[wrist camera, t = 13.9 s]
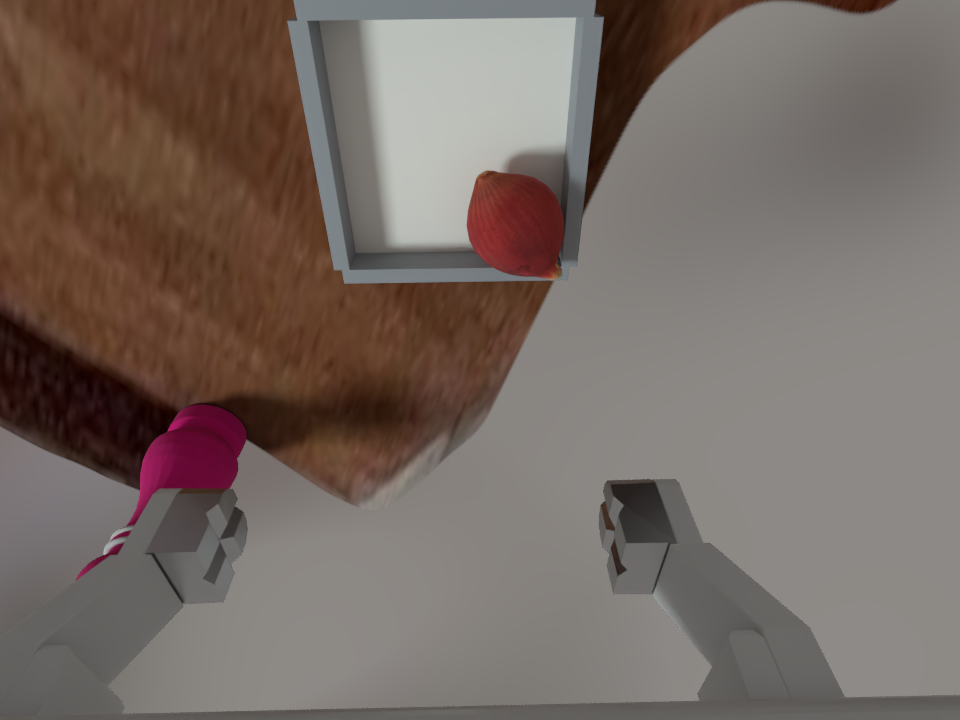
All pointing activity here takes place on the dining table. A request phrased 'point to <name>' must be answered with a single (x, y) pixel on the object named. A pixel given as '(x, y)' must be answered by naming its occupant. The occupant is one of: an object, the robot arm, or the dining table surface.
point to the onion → (516, 224)
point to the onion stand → (441, 123)
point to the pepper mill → (186, 461)
